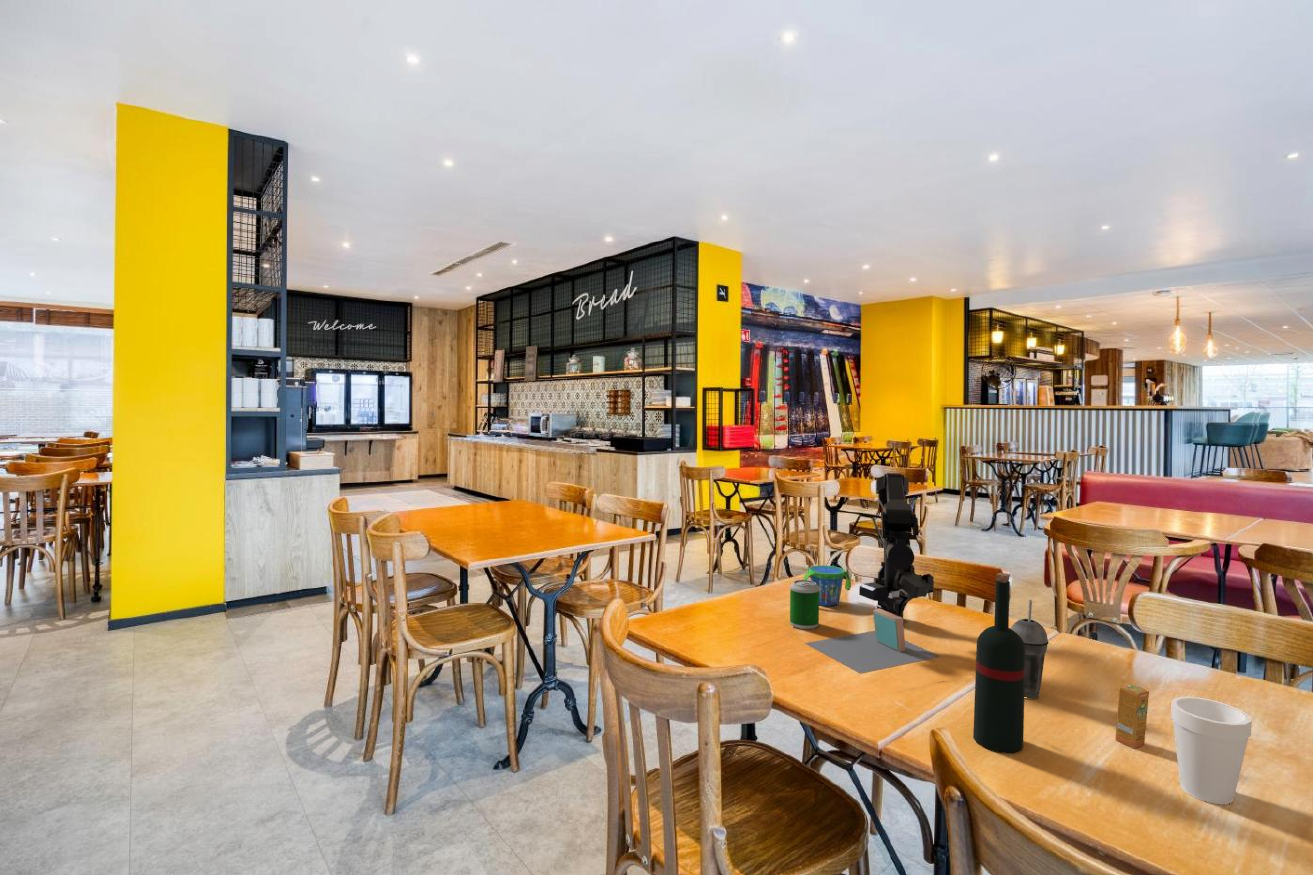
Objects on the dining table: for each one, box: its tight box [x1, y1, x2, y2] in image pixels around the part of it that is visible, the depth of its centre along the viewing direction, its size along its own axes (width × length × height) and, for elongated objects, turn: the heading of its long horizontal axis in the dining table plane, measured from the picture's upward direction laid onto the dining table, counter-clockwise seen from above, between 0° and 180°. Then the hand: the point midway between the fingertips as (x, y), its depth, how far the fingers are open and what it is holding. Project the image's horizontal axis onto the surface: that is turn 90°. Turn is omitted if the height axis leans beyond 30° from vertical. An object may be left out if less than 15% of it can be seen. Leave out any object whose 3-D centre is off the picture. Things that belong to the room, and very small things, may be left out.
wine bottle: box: [972, 572, 1026, 755], centre depth 118 cm, size 8×10×30 cm
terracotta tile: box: [872, 608, 906, 652], centre depth 163 cm, size 2×8×8 cm, turn 24°
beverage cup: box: [1009, 599, 1050, 699], centre depth 137 cm, size 7×7×20 cm
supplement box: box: [1115, 683, 1150, 749], centre depth 118 cm, size 3×3×10 cm
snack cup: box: [802, 564, 852, 607], centre depth 199 cm, size 16×10×10 cm
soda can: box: [789, 579, 820, 630], centre depth 178 cm, size 8×8×12 cm
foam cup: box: [1170, 696, 1252, 805], centre depth 103 cm, size 10×9×13 cm
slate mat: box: [804, 630, 942, 674], centre depth 161 cm, size 24×20×1 cm
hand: (896, 622), depth 163 cm, fingers closed
